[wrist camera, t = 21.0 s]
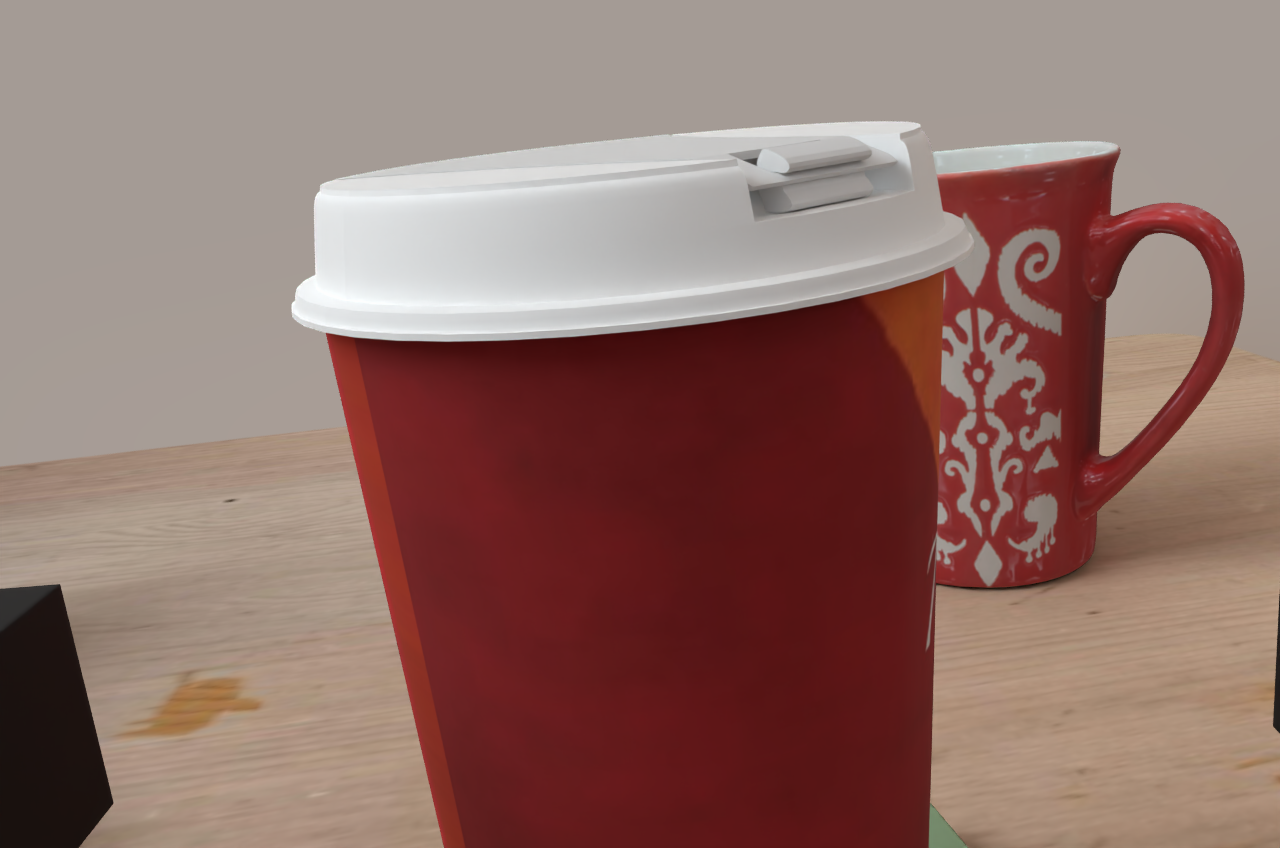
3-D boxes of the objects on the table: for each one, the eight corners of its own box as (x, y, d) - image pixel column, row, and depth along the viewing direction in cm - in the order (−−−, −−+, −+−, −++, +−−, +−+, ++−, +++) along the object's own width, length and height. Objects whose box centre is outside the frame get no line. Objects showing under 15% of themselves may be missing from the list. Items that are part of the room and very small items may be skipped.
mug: (798, 569, 42) (772, 176, 39) (927, 490, 49) (915, 146, 45) (1175, 655, 34) (1188, 164, 30) (1270, 546, 40) (1290, 129, 37)
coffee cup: (1112, 1147, 18) (1120, 101, 14) (688, 1590, 13) (516, 197, 9) (730, 891, 24) (660, 127, 20) (354, 1126, 20) (166, 190, 16)
